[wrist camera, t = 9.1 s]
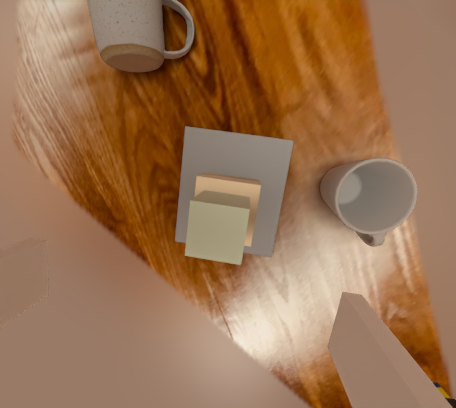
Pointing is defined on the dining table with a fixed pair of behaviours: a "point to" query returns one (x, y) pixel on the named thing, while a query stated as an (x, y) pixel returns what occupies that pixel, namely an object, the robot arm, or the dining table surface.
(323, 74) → the dining table surface
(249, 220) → the base block
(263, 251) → the board
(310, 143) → the dining table surface
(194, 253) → the sage block
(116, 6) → the ceramic mug
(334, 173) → the cup
